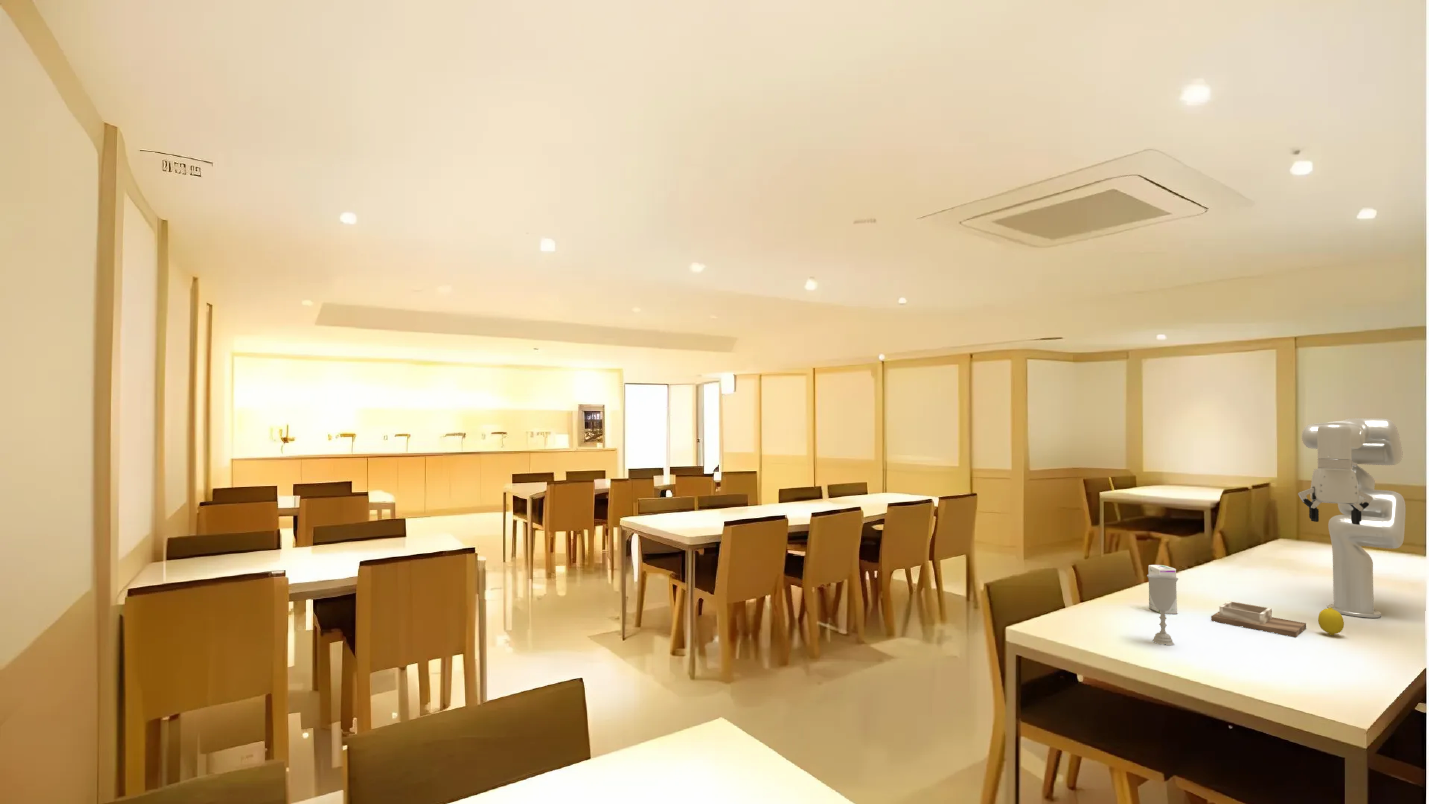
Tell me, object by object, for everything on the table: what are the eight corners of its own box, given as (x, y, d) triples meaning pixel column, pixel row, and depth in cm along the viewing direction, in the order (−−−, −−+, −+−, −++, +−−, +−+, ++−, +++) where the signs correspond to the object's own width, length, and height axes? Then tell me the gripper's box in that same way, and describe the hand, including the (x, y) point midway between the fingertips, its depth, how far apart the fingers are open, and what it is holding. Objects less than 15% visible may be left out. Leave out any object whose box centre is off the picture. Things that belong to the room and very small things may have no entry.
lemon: (1349, 639, 190) (1348, 610, 191) (1326, 637, 191) (1326, 609, 192) (1335, 633, 196) (1335, 605, 196) (1313, 631, 197) (1313, 604, 197)
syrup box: (1178, 614, 214) (1177, 568, 215) (1159, 613, 214) (1158, 568, 215) (1166, 609, 220) (1165, 564, 220) (1148, 609, 220) (1147, 564, 220)
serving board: (1224, 613, 216) (1224, 599, 216) (1306, 628, 200) (1305, 613, 200) (1211, 620, 207) (1211, 606, 207) (1295, 637, 191) (1295, 621, 192)
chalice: (1151, 644, 184) (1150, 578, 184) (1144, 637, 190) (1144, 573, 191) (1182, 647, 181) (1181, 580, 182) (1175, 640, 188) (1174, 575, 188)
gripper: (1364, 466, 202) (1365, 524, 201) (1293, 463, 208) (1293, 519, 207) (1378, 467, 195) (1379, 526, 194) (1304, 464, 201) (1304, 521, 200)
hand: (1335, 522), depth 200 cm, fingers open, 9 cm apart
